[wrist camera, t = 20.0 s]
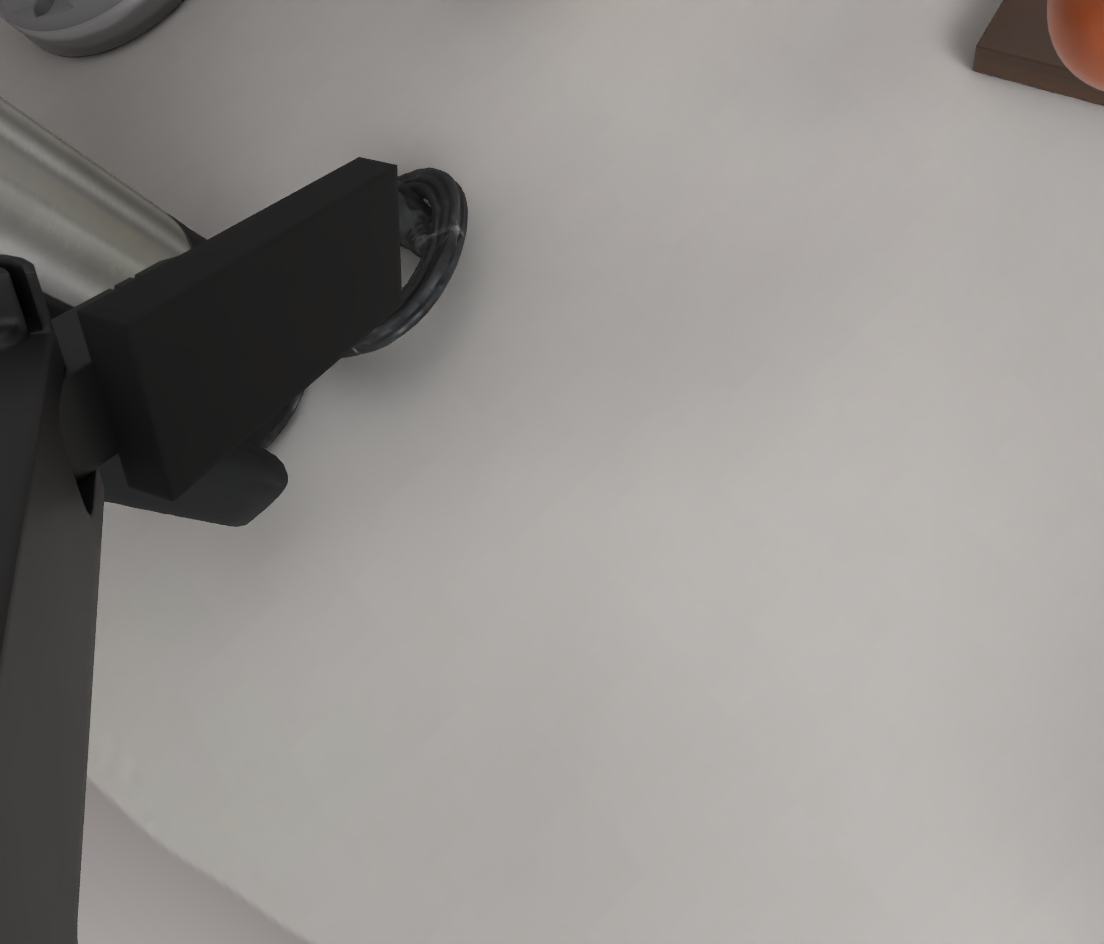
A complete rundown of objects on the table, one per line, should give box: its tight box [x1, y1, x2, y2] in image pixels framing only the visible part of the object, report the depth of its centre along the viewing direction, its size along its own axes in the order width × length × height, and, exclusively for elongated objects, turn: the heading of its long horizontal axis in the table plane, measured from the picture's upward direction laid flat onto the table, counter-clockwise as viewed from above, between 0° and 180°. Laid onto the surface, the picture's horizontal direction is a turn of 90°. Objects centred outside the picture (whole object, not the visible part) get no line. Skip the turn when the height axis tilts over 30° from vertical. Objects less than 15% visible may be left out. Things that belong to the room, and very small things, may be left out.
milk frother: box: [0, 97, 468, 527], centre depth 29 cm, size 14×16×15 cm
